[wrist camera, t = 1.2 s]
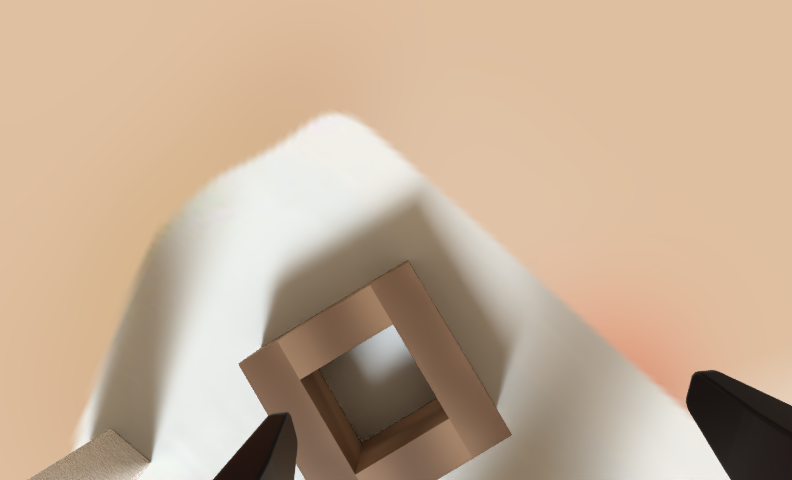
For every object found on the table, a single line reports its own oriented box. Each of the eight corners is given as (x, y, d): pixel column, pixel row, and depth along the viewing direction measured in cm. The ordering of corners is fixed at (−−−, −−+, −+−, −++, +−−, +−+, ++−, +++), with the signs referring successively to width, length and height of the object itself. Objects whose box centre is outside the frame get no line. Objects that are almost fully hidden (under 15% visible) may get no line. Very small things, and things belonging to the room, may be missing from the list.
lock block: (348, 497, 25) (339, 538, 22) (260, 348, 25) (238, 363, 22) (496, 409, 25) (512, 434, 22) (407, 260, 25) (408, 262, 22)
